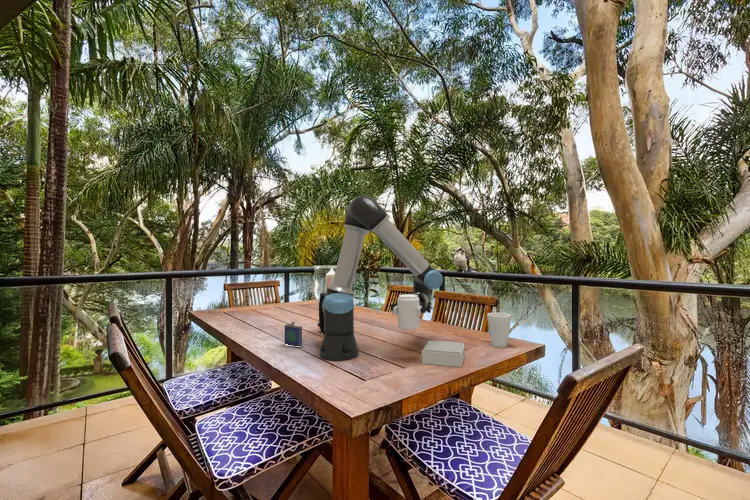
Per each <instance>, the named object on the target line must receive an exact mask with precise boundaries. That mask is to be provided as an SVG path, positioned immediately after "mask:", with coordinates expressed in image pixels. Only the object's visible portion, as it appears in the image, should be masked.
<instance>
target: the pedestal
mask: <svg viewBox="0 0 750 500" xmlns="http://www.w3.org/2000/svg"><path fill="white" fill-rule="evenodd" d="M464 358H465V343H463V342H459V341H457V342H456V341H446V340H445V341H444V340H443V341H441V340H428V341H427V343H426V344H425V346H424V347H423V349H422V350H421V364H422V365H423V364H424V365H433V366H434V365H435V366H445V367H455V368H462V366H463V363H464Z"/></svg>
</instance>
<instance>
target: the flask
mask: <svg viewBox="0 0 750 500" xmlns="http://www.w3.org/2000/svg"><path fill="white" fill-rule="evenodd" d="M285 344H288V345H294V346H302V347H303V326H302V325H296V321H290V323H286V324H284V345H285Z"/></svg>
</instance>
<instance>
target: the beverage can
mask: <svg viewBox="0 0 750 500" xmlns="http://www.w3.org/2000/svg"><path fill="white" fill-rule="evenodd" d="M397 302H398V314H397V327H398V328H400V329H402V330H416V329H418V328H420V327H421V324H420V323H421V321H420V319H421V318H420V316H421V315H420V316H417V308H418V307H419V298H418V295H414V294H413V293H408V294H399V295H398V297H397Z"/></svg>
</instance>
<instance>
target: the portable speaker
mask: <svg viewBox="0 0 750 500" xmlns="http://www.w3.org/2000/svg"><path fill="white" fill-rule="evenodd" d="M325 295H326V292H320V293H319V302H318V323H319V324H318V325H319V330H320V334H321V333H323V334H324V313H323V310H322V302H323V300H324V298H325ZM323 334H322V335H323Z"/></svg>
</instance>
